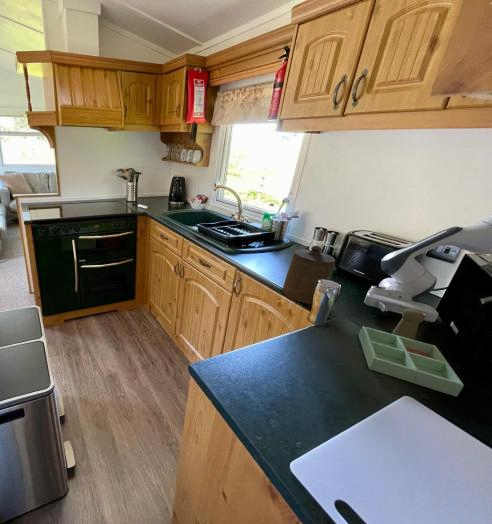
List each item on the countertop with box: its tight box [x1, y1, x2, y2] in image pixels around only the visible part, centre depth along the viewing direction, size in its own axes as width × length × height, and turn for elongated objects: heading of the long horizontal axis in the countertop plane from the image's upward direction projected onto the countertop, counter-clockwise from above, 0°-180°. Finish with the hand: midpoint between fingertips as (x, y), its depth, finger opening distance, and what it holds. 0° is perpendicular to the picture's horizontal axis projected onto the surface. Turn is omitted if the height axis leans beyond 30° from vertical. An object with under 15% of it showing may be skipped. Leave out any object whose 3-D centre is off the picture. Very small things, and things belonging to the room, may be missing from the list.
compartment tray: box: [358, 325, 465, 398], centre depth 83 cm, size 18×18×4 cm
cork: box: [390, 309, 425, 340], centre depth 93 cm, size 6×6×11 cm
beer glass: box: [306, 279, 342, 327], centre depth 99 cm, size 7×7×15 cm
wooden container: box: [282, 245, 336, 305], centre depth 117 cm, size 15×15×22 cm
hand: (402, 314), depth 99 cm, fingers open, 8 cm apart
